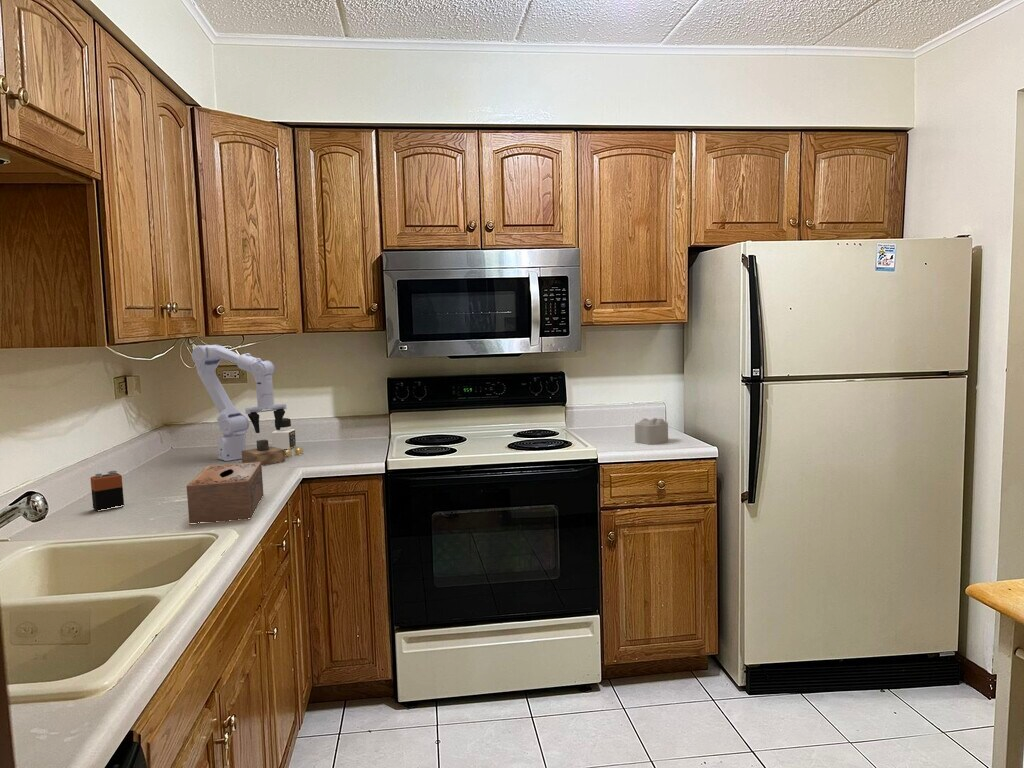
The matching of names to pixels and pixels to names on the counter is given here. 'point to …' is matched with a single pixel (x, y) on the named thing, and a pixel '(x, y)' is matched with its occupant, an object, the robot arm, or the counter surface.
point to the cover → (263, 454)
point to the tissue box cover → (225, 492)
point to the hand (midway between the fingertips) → (267, 431)
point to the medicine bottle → (284, 435)
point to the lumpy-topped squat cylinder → (651, 431)
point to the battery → (107, 490)
